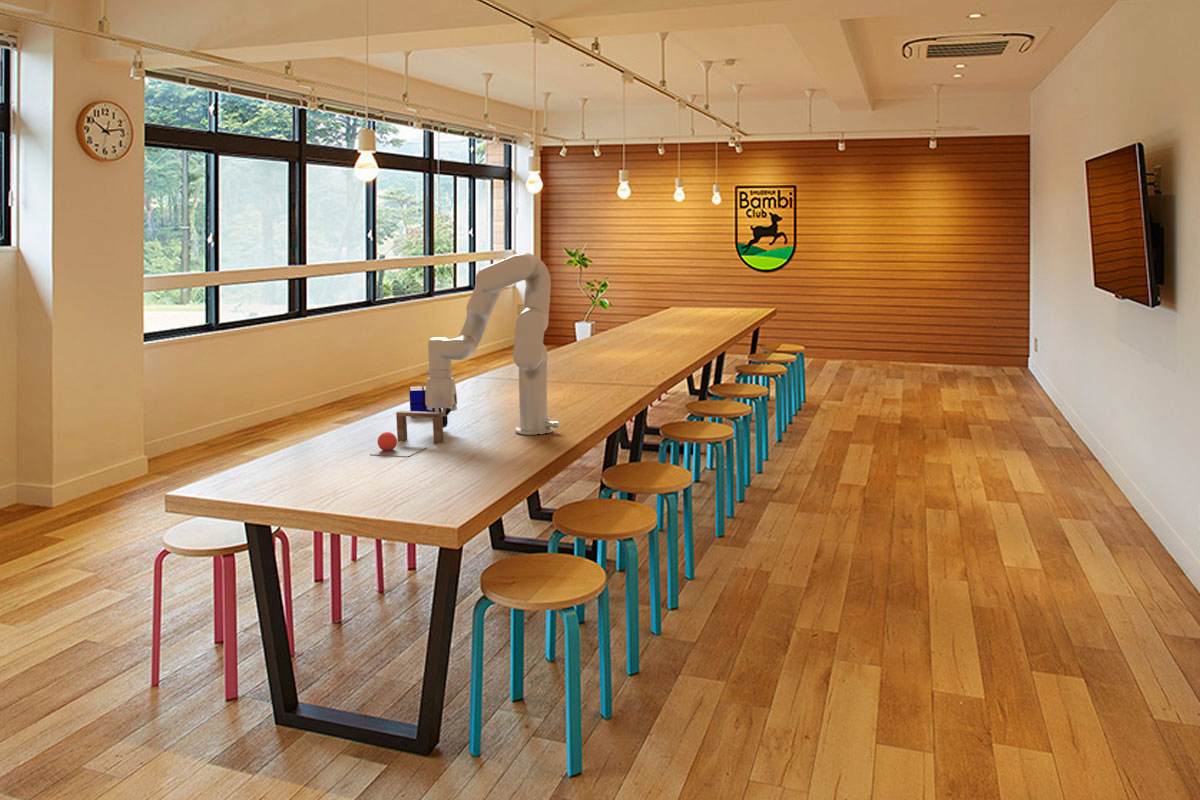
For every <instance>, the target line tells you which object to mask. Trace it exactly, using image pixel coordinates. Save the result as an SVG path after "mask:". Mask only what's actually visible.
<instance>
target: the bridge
mask: <svg viewBox="0 0 1200 800" xmlns="http://www.w3.org/2000/svg"><path fill="white" fill-rule="evenodd" d="M395 415H396V419H395V420H396V435H397V436H396V438H397V442H399V441H404V442H405V440H406V441H408V425H407V423H408V422H407V417H411V418H432V430H433V431H432V433H433V444H438V443H440V444H442V443H444V428H443V419H442V412H421V411H410V410H398V411H396V413H395ZM441 442H442V443H441Z"/></svg>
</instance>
